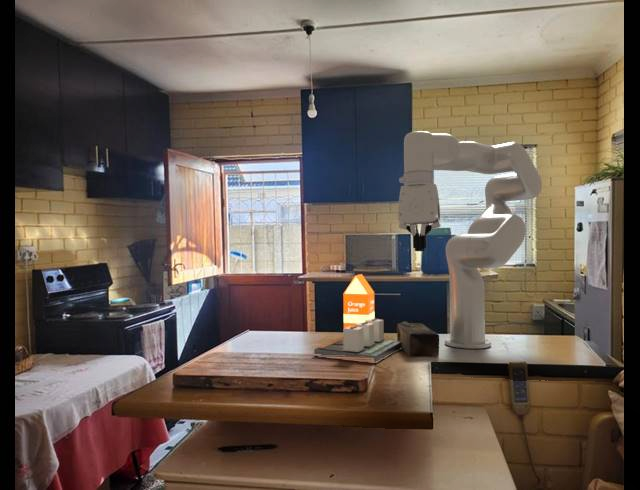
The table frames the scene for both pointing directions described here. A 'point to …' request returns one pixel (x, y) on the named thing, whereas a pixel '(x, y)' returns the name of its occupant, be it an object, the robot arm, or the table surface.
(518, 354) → the table surface
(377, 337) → the breaker
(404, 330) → the beverage carton
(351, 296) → the orange juice
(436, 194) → the robot arm
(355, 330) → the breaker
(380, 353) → the panel
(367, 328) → the breaker mid
